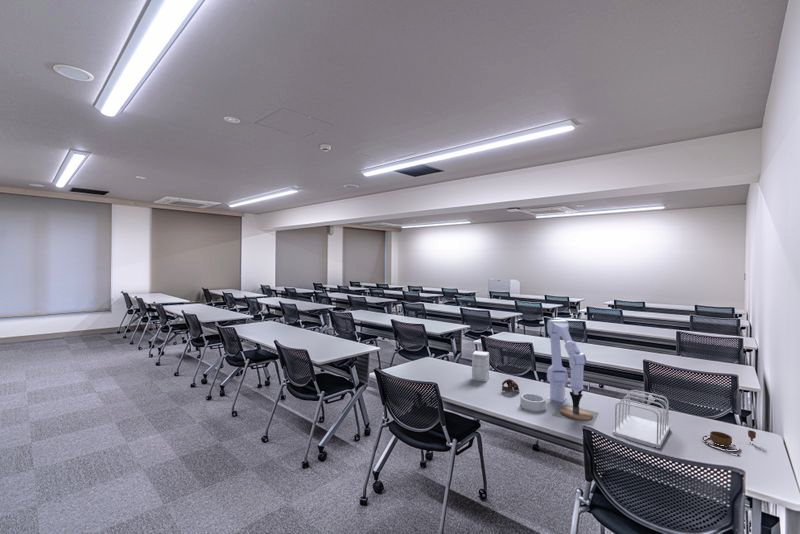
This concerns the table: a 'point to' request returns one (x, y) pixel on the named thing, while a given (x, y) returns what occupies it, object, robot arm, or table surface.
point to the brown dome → (510, 385)
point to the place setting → (726, 438)
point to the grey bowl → (533, 402)
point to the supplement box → (480, 366)
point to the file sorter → (642, 422)
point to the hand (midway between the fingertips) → (576, 404)
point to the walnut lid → (576, 413)
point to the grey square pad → (589, 422)
